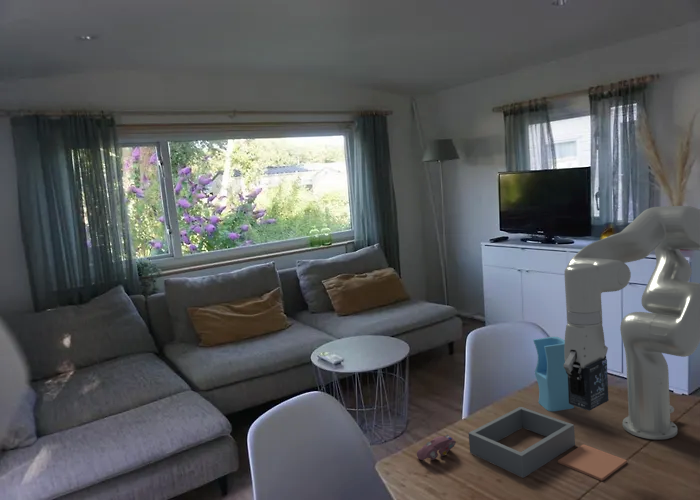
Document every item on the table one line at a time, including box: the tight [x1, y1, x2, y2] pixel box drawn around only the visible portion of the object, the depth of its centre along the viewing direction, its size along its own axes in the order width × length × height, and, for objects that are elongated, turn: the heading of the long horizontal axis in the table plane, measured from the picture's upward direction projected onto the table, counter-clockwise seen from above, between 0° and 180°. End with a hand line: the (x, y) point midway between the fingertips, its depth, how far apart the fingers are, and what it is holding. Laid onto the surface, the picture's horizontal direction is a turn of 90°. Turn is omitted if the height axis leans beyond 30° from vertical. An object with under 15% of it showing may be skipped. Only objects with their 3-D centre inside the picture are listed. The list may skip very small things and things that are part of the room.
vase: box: [532, 336, 575, 412], centre depth 154 cm, size 8×8×20 cm
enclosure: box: [468, 406, 576, 479], centre depth 132 cm, size 21×16×6 cm
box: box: [568, 358, 609, 412], centre depth 121 cm, size 8×6×11 cm
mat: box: [557, 443, 628, 481], centre depth 123 cm, size 11×11×1 cm
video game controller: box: [416, 434, 456, 461], centre depth 133 cm, size 10×5×7 cm, turn 118°
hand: (588, 388), depth 121 cm, fingers closed on box, 8 cm apart
